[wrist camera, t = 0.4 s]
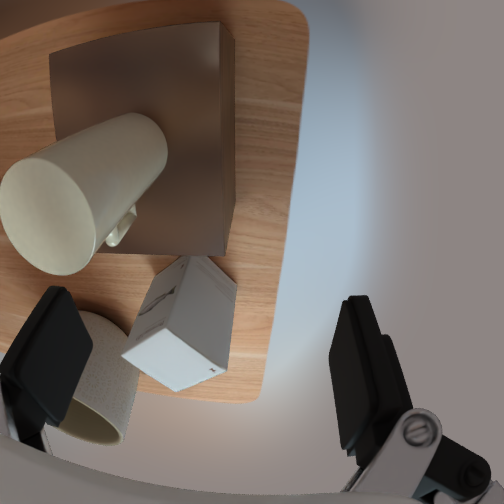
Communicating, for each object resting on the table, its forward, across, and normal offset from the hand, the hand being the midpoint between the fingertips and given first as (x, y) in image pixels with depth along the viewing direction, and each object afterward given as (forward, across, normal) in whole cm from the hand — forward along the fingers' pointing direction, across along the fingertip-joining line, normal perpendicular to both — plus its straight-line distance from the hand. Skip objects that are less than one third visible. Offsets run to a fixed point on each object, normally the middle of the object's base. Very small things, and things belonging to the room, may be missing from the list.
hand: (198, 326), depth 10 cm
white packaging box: (+22, +6, +16) cm, 27 cm away
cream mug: (+12, +6, -3) cm, 14 cm away
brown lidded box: (+22, +6, -2) cm, 23 cm away
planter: (+22, +23, +27) cm, 42 cm away
